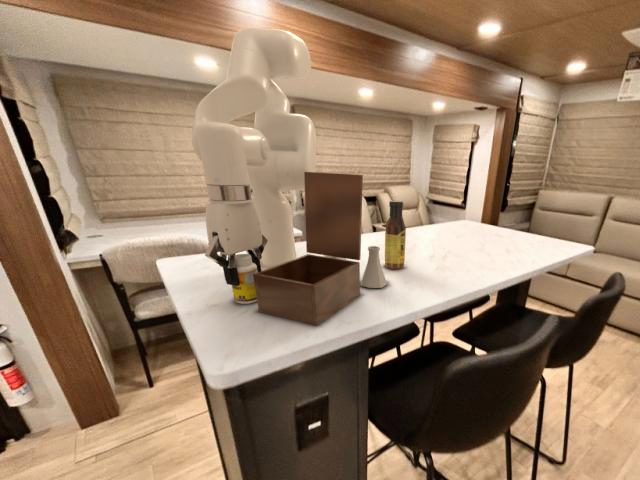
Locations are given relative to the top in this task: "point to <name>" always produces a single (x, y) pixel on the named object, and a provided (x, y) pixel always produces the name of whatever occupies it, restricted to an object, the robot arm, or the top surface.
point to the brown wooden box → (307, 288)
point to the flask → (373, 270)
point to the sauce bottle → (395, 237)
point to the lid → (333, 214)
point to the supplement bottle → (245, 279)
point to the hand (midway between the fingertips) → (244, 279)
